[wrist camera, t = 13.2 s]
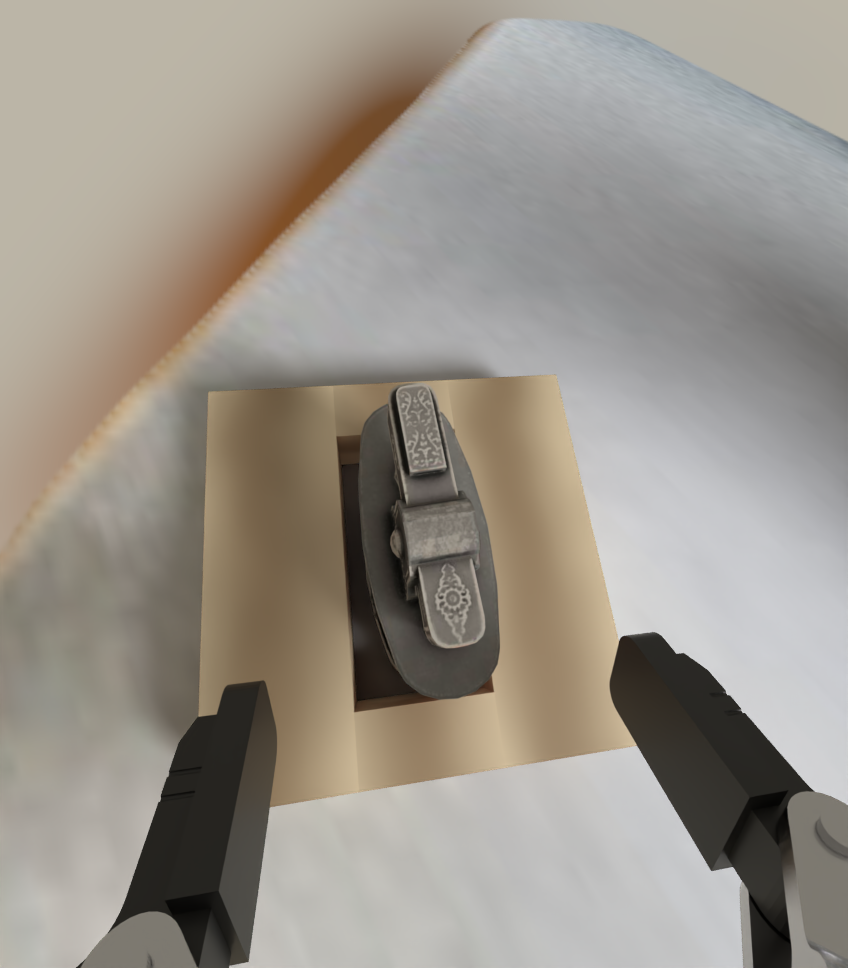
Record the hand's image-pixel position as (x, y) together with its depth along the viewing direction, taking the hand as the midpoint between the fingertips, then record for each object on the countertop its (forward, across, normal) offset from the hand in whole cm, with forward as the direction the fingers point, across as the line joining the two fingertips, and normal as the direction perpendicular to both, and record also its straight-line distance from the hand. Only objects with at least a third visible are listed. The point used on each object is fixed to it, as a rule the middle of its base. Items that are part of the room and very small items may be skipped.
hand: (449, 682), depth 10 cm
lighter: (+8, 0, +3) cm, 9 cm away
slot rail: (+8, 0, +3) cm, 9 cm away
